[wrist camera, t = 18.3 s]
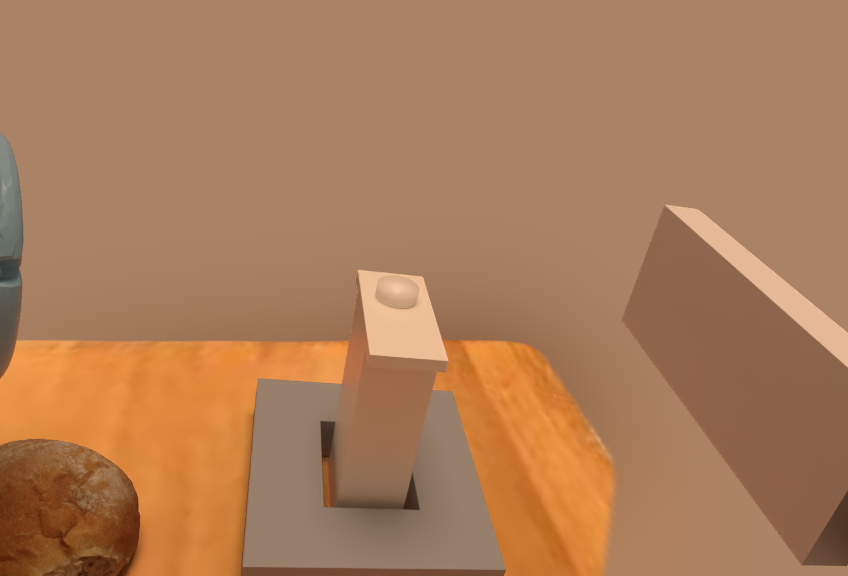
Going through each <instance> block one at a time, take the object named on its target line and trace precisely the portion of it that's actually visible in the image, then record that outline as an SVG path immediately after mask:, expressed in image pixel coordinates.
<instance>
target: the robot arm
mask: <svg viewBox="0 0 848 576" xmlns="http://www.w3.org/2000/svg"><path fill="white" fill-rule="evenodd" d="M22 248H23V218H22V201H21V190H20V182H19V176H18V170H17V166H16V162H15V156H14V153H13V150H12V148H11V145H10V143H9V141H8V140H7V138H6V137H5V136H4V135H2V134H1V133H0V379H1V377H2V376H3V375H4V373H5V372H6V370H7V368H8V366H9V364H10V361H11V359H12V356H13V353H14V349H15V344H16V339H17V334H18V327H19V320H20V311H21V298H22V279H21V273H20V270H19V267H20V265H21V258H22ZM622 321H623V323H624V324H625V325H626V327H627V328H628V329H629V331H630V332H631V333H632V335H633V336H634V338H635V339H636V340H637V341H638V343H639V344H640V346H641V347H642V348H643V349H644V351H645V353H646V354H647V355H648V357H649V358H650V359H651V361H652V362H653V363H654V365H655V366H656V368H657V369H658V370H659V371H660V373H661V374H662V376H663V377H664V378H665V380H666V381H667V382H668V384H669V385H670V386H671V388H672V389H673V391H674V392H675V393H676V395H677V396H678V397H679V398H680V400H681V401H682V403H683V404H684V406H685V407H686V408H687V409H688V411H689V412H690V414H691V415H692V416H693V418H694V419H695V421H696V422H697V423H698V425H699V426H700V427H701V429H702V430H703V432H704V433H705V434H706V436H707V437H708V438H709V440H710V441H711V442H712V444H713V445H714V447H715V448H716V449H717V450H718V452H719V453H720V455H721V456H722V457H723V459H724V460H725V462H726V463H727V464H728V466H729V467H730V468H731V469H732V471H733V472H734V474H735V475H736V477H737V478H738V479H739V480H740V482H741V483H742V485H743V486H744V487H745V489H746V490H747V492H748V493H749V494H750V496H751V497H752V498H753V500H754V501H755V502H756V504H757V505H758V506H759V508H760V509H761V510H762V512H763V513H764V515H765V516H766V517H767V519H768V520H769V522H770V523H771V524H772V526H773V527H774V528H775V530H776V531H777V532H778V534H779V535H780V536H781V538H782V539H783V541H784V542H785V543H786V544H787V546H788V547H789V549H790V550H791V551H792V553H793V554H794V555H795V557H796V558H797V560H798V561H799V562H800V564H801V565H824V566H825V565H827V566H828V565H829V566H847V565H848V333H847V332H846V331H845V330H843V329H842V328H841V327H840V326H839V325H838V324H836V323H835V322H834V321H833V320H831V319H830V318H829V317H828V316H827V315H825V314H824V313H823V312H822V311H821V310H819V309H818V308H817V307H816V306H814V305H813V304H812V303H811V302H810V301H808V300H807V299H806V298H805V297H804V296H802V295H801V294H800V293H799V292H797V291H796V290H795V289H794V288H793V287H791V286H790V285H789V284H788V283H787V282H785V281H784V280H783V279H782V278H781V277H779V276H778V275H777V274H775V272H773V271H772V270H771V269H770V268H768V267H767V266H766V265H764V264H763V263H762V262H761V261H760V260H759V259H758V258H756V257H755V256H754V255H753V254H751V253H750V252H749V251H748V250H747V249H745V248H744V247H743V246H742V245H741V244H739V243H738V242H737V241H736V240H734V239H733V238H732V237H731V236H730V235H728V234H727V233H726V232H725V231H724V230H722V229H721V228H720V227H719V226H718V225H716V224H715V223H714V222H713V221H711V220H710V219H709V218H708V217H707V216H705V215H704V214H703V213H702V212H701V211H699V210H698V209H691V208H685V207H678V206H670V205H664V207H663V210H662V213H661V216H660V218H659V221H658V224H657V226H656V229H655V232H654V234H653V237H652V240H651V242H650V245H649V248H648V251H647V253H646V256H645V259H644V261H643V264H642V267H641V269H640V272H639V275H638V278H637V280H636V283H635V286H634V288H633V291H632V294H631V296H630V299H629V302H628V305H627V307H626V310H625V313H624V315H623V318H622Z"/></svg>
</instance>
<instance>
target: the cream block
mask: <svg viewBox="0 0 848 576" xmlns="http://www.w3.org/2000/svg"><path fill="white" fill-rule="evenodd" d="M356 283H357V290H358V294H357V300H356V305H355V311H354V317H353V323H352V329H351V334H350V340H349V346H348V351H347V357H346V363H345V369H344V375H343V380H342V386H341V392H340V398H339V404H338V409H337V415H336V421H335V427H334V433H333V438H332V444H331V450H330V456H329V462H328V479H329V502H330V507H334V508H368V509H402V510H403V508H404V504H405V500H406V496H407V492H408V488H409V484H410V479H411V475H412V471H413V467H414V463H415V459H416V455H417V451H418V447H419V443H420V438H421V434H422V430H423V426H424V422H425V418H426V414H427V410H428V406H429V402H430V397H431V393H432V389H433V385H434V381H435V377H436V373H437V372H446V369H447V365H448V358H447V355H446V352H445V348H444V345H443V342H442V338H441V335H440V332H439V328H438V325H437V322H436V319H435V315H434V312H433V309H432V305H431V302H430V299H429V295H428V292H427V289H426V286H425V282H424V279H423V277H420V276H411V275H401V274H392V273H382V272H373V271H364V270H358V272H357V278H356Z"/></svg>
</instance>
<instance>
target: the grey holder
mask: <svg viewBox="0 0 848 576" xmlns="http://www.w3.org/2000/svg"><path fill="white" fill-rule="evenodd" d="M341 386H342V384H332V383H317V382H303V381H288V380H273V379H258V382H257V392H256V401H255V410H254V422H253V434H252V446H251V458H250V470H249V482H248V494H247V507H246V519H245V531H244V543H243V555H242V567H241V576H504V574H505V571H506V569H505V565H504V562H503V559H502V555H501V552H500V549H499V545H498V542H497V539H496V535H495V532H494V529H493V525H492V522H491V519H490V515H489V512H488V509H487V505H486V502H485V499H484V495H483V492H482V489H481V485H480V482H479V479H478V475H477V472H476V469H475V465H474V462H473V459H472V455H471V452H470V449H469V445H468V442H467V439H466V435H465V432H464V429H463V426H462V422H461V419H460V416H459V412H458V409H457V406H456V402H455V399H454V396H453V392H450V391H436V390H432V393H431V397H430V402H429V406H428V410H427V414H426V418H425V422H424V426H423V430H422V434H421V438H420V443H419V447H418V451H417V455H416V459H415V463H414V467H413V471H412V475H411V479H410V484H409V488H408V492H407V496H406V500H405V504H404V510H402V509H368V508H334V507H324V501H323V476H322V456H330V450H331V444H332V438H333V433H334V427H335V421H336V415H337V409H338V404H339V398H340V392H341Z"/></svg>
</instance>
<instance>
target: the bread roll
mask: <svg viewBox="0 0 848 576" xmlns="http://www.w3.org/2000/svg"><path fill="white" fill-rule="evenodd" d="M139 528H140V514H139V512H138V496H137V493H136V491H135V489H134V486H133V484H132V481H131V480H130V479H129V478H128V477H127V475H126V474H125V473H124V472H123V471H122V470H121V469H120V468H119V467H118V466H117V465H115V464H114V463H113V462H111V461H110V460H108V459H107V458H105V457H104V456H102V455H100V454H99V453H97V452H96V451H93V450H91V449H89V448H87V447H83V446H80V445H77V444H74V443H69V442H64V441H58V440H45V439H28V440H19V441H14V442H10V443H6V444H3V445H1V446H0V576H117V575H118V573H119V572H120V571H121V569H122V568H123V567H124V566H125V564H128V563H129V562H130V558H131V557H132V555H133V553H134V551H135V549H136V547H137V543H138V539H139Z"/></svg>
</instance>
